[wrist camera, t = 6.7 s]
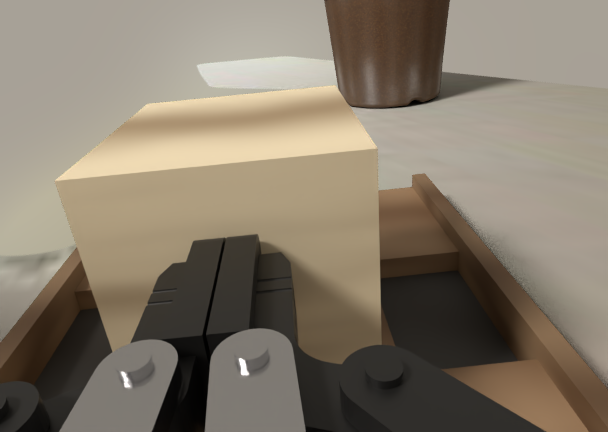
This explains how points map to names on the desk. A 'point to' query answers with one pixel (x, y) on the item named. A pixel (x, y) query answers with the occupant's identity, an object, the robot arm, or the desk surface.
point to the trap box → (394, 320)
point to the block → (236, 206)
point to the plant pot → (387, 49)
